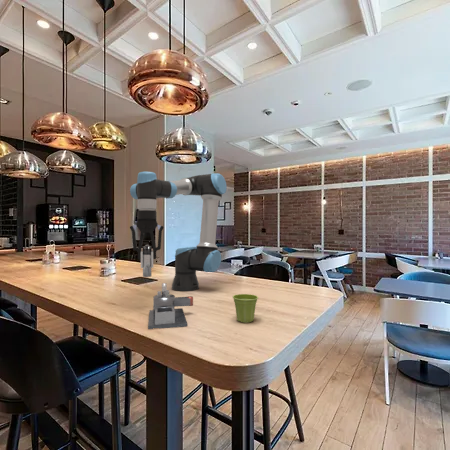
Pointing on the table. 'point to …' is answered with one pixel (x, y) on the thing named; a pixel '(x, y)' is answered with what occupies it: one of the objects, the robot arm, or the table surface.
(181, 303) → the grey machine part
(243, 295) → the plant pot
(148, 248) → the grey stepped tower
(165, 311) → the base
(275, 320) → the table surface
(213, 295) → the table surface
